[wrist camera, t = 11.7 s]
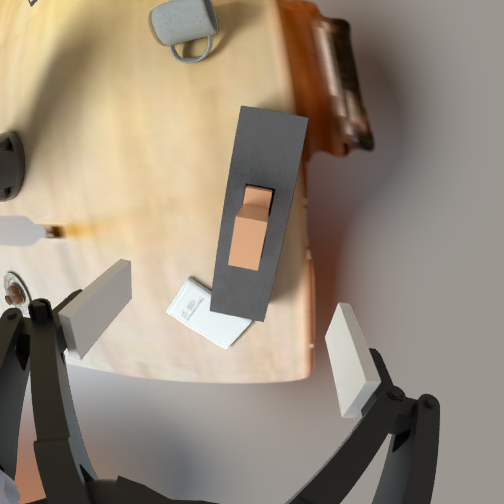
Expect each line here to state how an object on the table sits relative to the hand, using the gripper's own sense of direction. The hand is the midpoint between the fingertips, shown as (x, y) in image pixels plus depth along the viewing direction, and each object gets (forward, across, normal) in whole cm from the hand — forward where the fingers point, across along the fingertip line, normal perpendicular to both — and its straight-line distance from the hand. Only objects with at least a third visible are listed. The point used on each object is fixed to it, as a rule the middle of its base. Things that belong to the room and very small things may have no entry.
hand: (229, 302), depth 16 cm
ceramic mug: (+24, -14, +26) cm, 38 cm away
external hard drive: (+24, -4, -18) cm, 31 cm away
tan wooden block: (+23, 0, 0) cm, 23 cm away
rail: (+24, 0, 0) cm, 24 cm away
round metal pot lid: (+25, -56, -29) cm, 68 cm away
